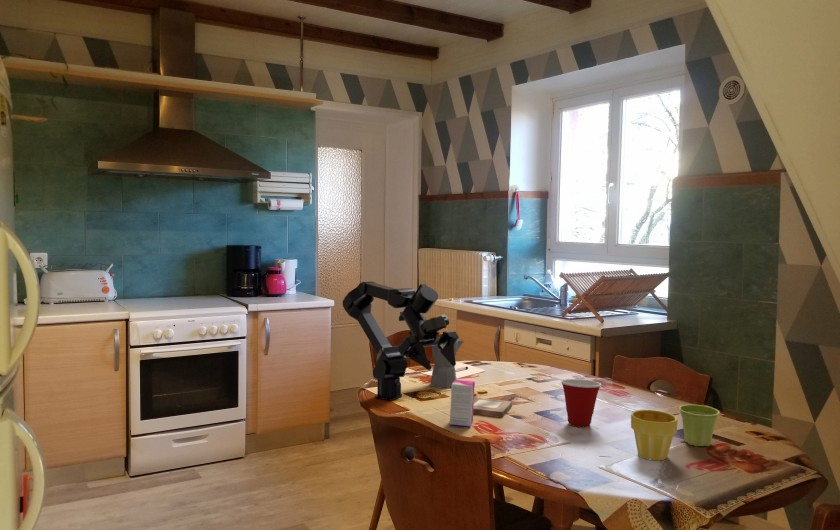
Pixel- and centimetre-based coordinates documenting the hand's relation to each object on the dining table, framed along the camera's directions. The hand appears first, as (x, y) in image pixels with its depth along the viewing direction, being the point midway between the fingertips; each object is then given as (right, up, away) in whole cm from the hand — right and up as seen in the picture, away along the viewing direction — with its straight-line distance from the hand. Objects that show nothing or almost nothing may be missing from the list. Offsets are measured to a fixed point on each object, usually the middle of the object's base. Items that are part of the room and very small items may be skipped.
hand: (442, 367), depth 186 cm
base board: (+13, -14, +9) cm, 21 cm away
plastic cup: (+37, -15, -3) cm, 40 cm away
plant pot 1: (+49, -17, -27) cm, 59 cm away
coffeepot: (+1, -12, +37) cm, 39 cm away
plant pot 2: (+64, -17, -17) cm, 68 cm away
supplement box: (+5, -15, -6) cm, 17 cm away
